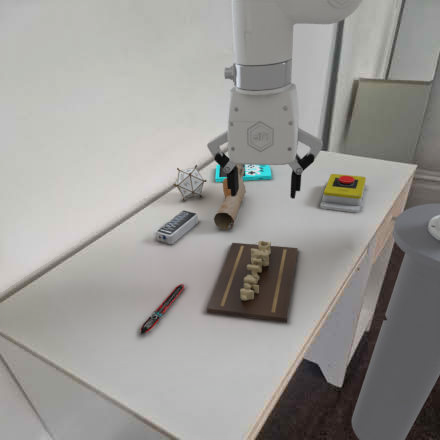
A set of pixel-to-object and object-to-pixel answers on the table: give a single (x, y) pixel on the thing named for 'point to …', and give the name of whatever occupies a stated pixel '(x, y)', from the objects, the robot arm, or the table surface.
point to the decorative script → (255, 269)
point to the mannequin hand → (230, 202)
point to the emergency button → (343, 193)
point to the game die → (189, 182)
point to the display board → (268, 284)
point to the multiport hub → (177, 227)
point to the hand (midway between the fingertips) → (263, 193)
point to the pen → (162, 309)
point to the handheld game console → (247, 173)
